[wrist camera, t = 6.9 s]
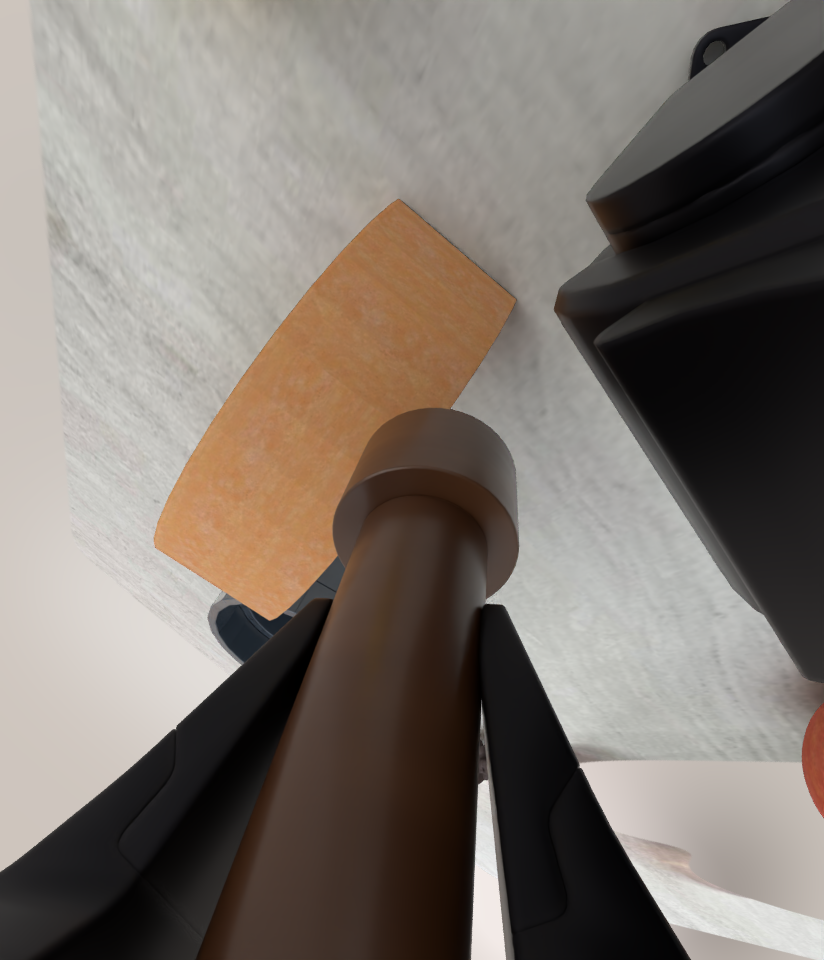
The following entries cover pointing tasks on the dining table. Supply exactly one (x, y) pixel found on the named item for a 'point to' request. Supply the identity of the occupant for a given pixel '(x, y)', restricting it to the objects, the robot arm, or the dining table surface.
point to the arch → (327, 407)
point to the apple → (815, 758)
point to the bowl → (249, 629)
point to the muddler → (384, 717)
